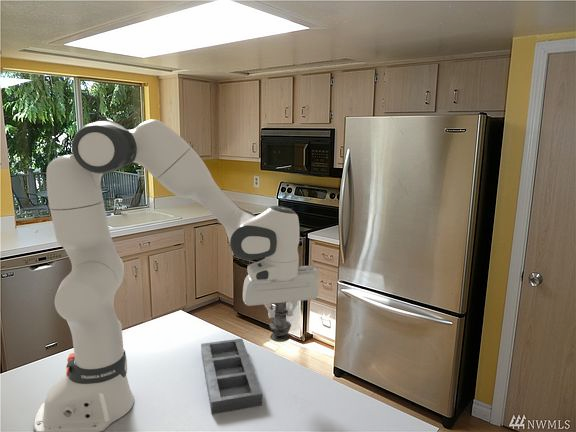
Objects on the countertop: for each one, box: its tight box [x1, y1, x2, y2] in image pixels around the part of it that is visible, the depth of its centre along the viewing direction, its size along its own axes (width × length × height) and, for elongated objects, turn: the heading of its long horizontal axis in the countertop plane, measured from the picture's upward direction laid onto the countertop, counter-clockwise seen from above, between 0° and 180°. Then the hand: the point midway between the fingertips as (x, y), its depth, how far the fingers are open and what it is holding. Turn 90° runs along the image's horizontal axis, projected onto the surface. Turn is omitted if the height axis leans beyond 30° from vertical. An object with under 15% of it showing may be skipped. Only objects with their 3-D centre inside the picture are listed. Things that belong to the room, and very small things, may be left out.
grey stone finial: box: [269, 302, 292, 343], centre depth 112 cm, size 6×6×12 cm
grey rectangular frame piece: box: [200, 338, 263, 415], centre depth 120 cm, size 13×29×4 cm, turn 16°
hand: (280, 316), depth 112 cm, fingers closed on grey stone finial, 4 cm apart
